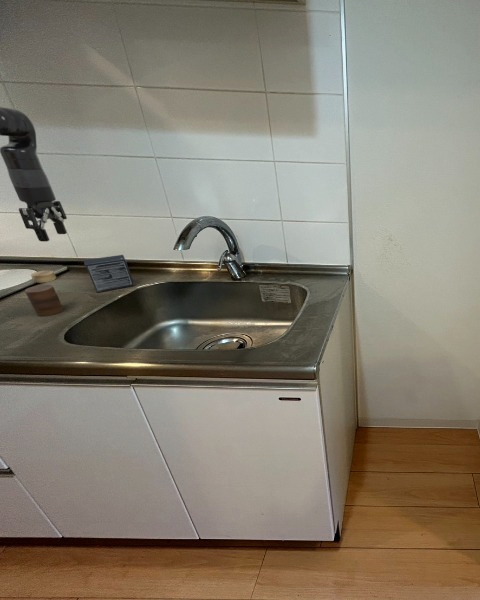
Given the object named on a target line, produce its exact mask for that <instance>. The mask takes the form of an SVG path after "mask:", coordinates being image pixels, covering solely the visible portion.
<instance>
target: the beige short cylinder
mask: <svg viewBox="0 0 480 600" xmlns="http://www.w3.org/2000/svg"><path fill="white" fill-rule="evenodd" d="M30 276H31V278H32V281H33V282H34V283H36V282H37V284H41V283H42V284H43V283H48V282H53V281H55V280H56V279H57V275H56V273H55V271H54V270H50V269H49V270H47V269H46V270H39V271H35V272H33V273H30Z"/></svg>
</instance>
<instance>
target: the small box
mask: <svg viewBox="0 0 480 600" xmlns="http://www.w3.org/2000/svg"><path fill="white" fill-rule="evenodd" d="M83 263H84V267H85V268H86V270H87V273H88V275H89V278H90V280H91V282H92V285H93V287H94V290H95V293H104V292H108V291H113V290H120V289H124V288H129V287H135V286H136V284H135V282H134V280H133V276H132V274H131V271H130V268H129V266H128V262H127V259H126V257H125V256H124V254H118V255H111V256H103V257H96V258H88V259H83Z"/></svg>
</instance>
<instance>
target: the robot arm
mask: <svg viewBox="0 0 480 600" xmlns="http://www.w3.org/2000/svg"><path fill="white" fill-rule="evenodd" d="M0 136H1V137H8V138H7V139H8V143H7V144H5V145H2V146H0V156H1V158H2V160H3V163H4V165H5V167H6V170H7V173H8V178H9V179H10V182H11V184H12V187H13V188H14V191H15V193H16V195H17V197H18V200H19V201H20V202H22V203H25V204H26V207H19V208H18V212H19V215H20V218H21V220H22V222H23V225H24V227H25V229H28V230H33V231H34V233H35V235H36V238H37V239H38V241H39V242H49V241H50V238H49V237H50V236H49V235H48V232H47V230H46V229H45V225H46V224H47V222H48V220H50V221H51V222H53V227H54V230H55V231H56V234H58V235H66V234H67V233H68V232H67V230H66V229H67V228H66V226H65V224H64V222H65V220H67V219H68V217H67V214H66V212H65V209H64V208H63V205H62V203H61V201H59V200H57V198H56V196H55V193H54V190H53V188H52V186H51V183H50V180H49V177H48V176H47V174H46V171H45V170H44V168H43V165H42V163H41V159H40V157H39V156H38V144H37V133H36V128H35V125H34V123H33V122H32V119H30V117H28V115H26V114H25V113H24V112H23V111H21V110H18V109H16V108H12V107H3V106H2V107H1V106H0Z"/></svg>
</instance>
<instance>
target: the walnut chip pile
mask: <svg viewBox="0 0 480 600" xmlns="http://www.w3.org/2000/svg"><path fill="white" fill-rule="evenodd" d="M24 293H25V295H26V297H27V299H28V300H29V302H30V305H31V306H32V308H33V310H34V313H35V314H36V316H37V317H50V316H54V315H58V314H60V313H62V312H63V311H64V306H63V305H62V302H61V300H60V298H59V295H58V294H57V292H56V289H55V287H54V285H52V284H39V285H33V286H30V287H27V288H25V290H24Z"/></svg>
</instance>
